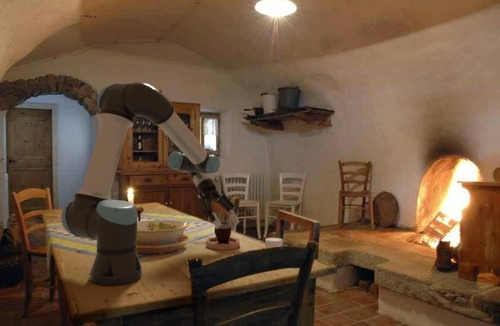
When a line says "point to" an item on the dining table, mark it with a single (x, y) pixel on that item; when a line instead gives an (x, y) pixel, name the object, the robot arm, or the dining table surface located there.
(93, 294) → the dining table surface
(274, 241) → the white cup
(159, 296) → the dining table surface
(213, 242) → the ring saucer
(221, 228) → the mate gourd
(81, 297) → the dining table surface
